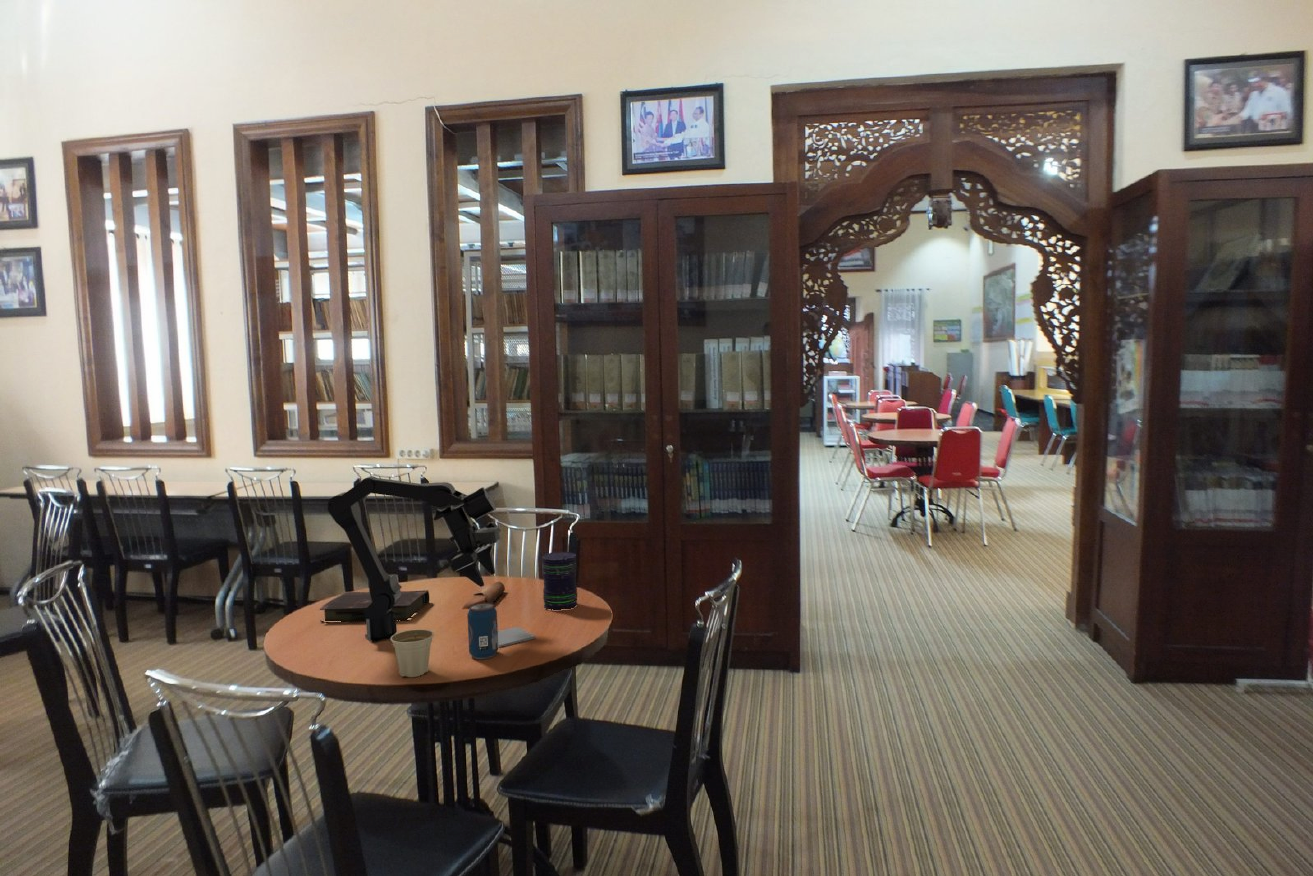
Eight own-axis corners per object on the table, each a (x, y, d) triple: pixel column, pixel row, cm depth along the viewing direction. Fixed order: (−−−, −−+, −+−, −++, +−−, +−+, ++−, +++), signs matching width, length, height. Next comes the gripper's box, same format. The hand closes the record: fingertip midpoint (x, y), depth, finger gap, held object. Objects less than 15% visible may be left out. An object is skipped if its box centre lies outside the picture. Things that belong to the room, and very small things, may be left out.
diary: (347, 606, 230) (346, 590, 230) (429, 605, 230) (429, 588, 229) (318, 625, 212) (317, 607, 211) (408, 623, 211) (407, 606, 211)
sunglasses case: (478, 591, 239) (488, 573, 239) (498, 602, 239) (508, 584, 239) (460, 609, 221) (471, 589, 221) (481, 621, 221) (492, 601, 221)
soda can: (469, 651, 186) (467, 603, 186) (498, 648, 188) (496, 600, 187) (469, 661, 180) (466, 611, 179) (499, 658, 181) (496, 608, 180)
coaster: (499, 647, 188) (499, 645, 188) (482, 637, 196) (482, 635, 196) (535, 638, 194) (535, 636, 194) (517, 628, 202) (517, 626, 202)
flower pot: (420, 662, 180) (418, 626, 180) (444, 670, 174) (442, 633, 174) (384, 674, 173) (382, 637, 172) (407, 684, 167) (405, 645, 166)
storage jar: (537, 606, 222) (535, 555, 221) (565, 599, 229) (563, 550, 228) (555, 613, 215) (553, 561, 214) (584, 606, 221) (582, 555, 220)
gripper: (475, 524, 188) (504, 580, 190) (497, 505, 206) (524, 556, 208) (436, 543, 190) (466, 597, 191) (462, 522, 208) (489, 572, 210)
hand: (488, 580), depth 200 cm, fingers open, 9 cm apart
